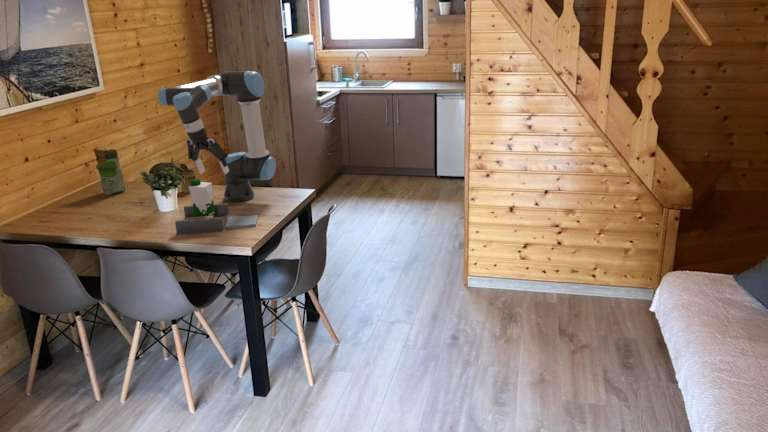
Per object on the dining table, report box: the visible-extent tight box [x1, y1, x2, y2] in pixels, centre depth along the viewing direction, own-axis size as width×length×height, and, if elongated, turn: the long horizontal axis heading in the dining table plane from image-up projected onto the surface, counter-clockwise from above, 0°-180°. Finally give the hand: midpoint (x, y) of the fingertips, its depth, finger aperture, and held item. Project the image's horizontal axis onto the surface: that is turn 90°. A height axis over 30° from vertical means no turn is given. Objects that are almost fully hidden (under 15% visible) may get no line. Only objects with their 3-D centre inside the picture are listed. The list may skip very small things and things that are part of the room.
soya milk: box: [189, 178, 216, 218], centre depth 290 cm, size 9×9×20 cm
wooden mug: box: [170, 157, 197, 194], centre depth 340 cm, size 9×14×18 cm, turn 78°
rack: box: [174, 202, 230, 236], centre depth 288 cm, size 22×20×6 cm
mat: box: [225, 214, 259, 229], centre depth 290 cm, size 13×13×1 cm
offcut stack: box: [185, 215, 214, 220], centre depth 284 cm, size 6×16×5 cm, turn 96°
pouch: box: [92, 148, 126, 195], centre depth 340 cm, size 11×12×25 cm
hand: (214, 172), depth 274 cm, fingers open, 13 cm apart
